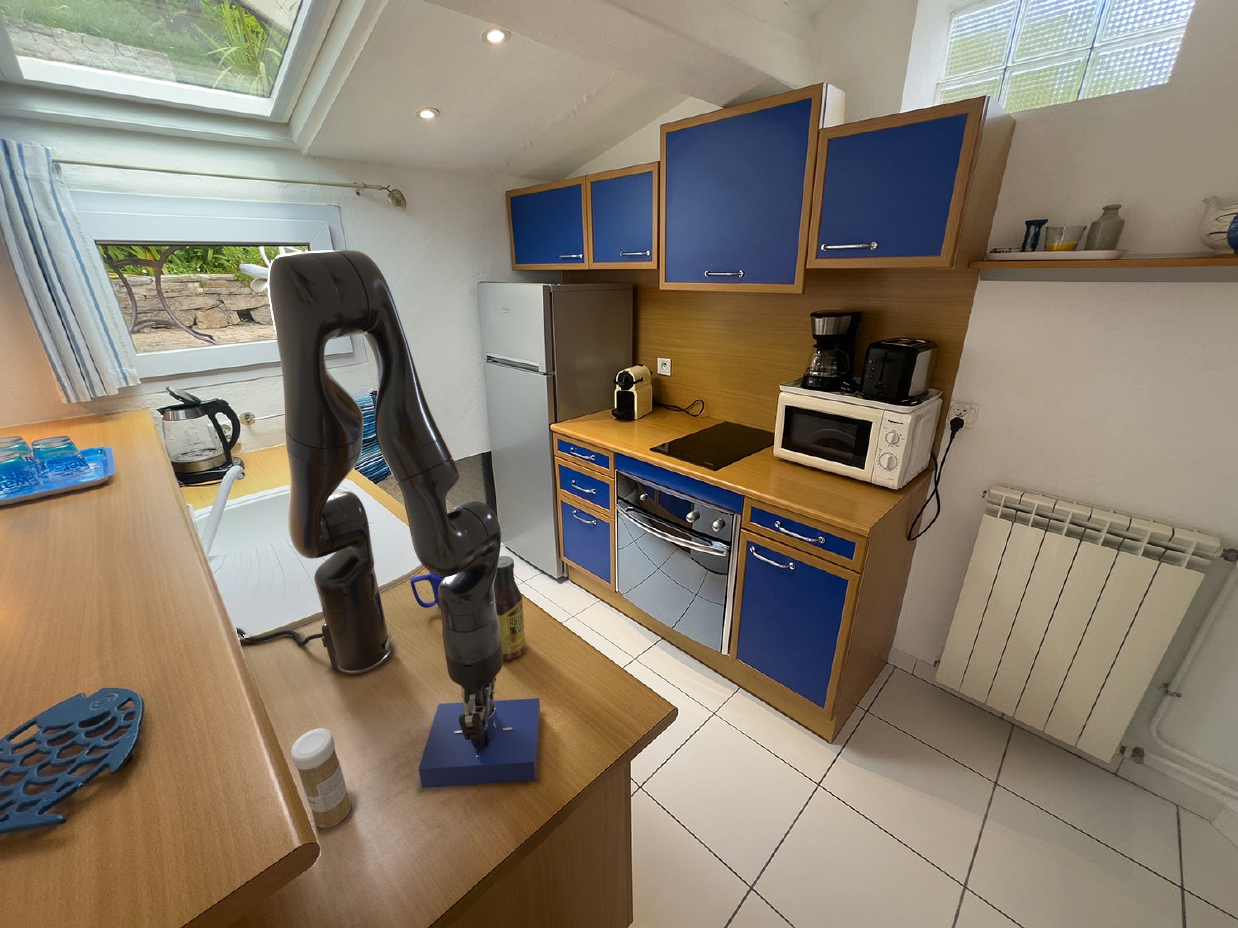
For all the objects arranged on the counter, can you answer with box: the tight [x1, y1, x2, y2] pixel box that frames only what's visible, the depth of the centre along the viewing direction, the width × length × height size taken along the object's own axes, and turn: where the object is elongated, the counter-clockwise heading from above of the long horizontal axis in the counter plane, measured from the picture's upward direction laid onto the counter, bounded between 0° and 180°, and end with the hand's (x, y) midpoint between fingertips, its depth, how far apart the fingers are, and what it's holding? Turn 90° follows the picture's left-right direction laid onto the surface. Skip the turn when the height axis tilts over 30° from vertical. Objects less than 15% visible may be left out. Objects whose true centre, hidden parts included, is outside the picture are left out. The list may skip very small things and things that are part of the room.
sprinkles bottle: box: [290, 727, 352, 829], centre depth 64 cm, size 5×5×14 cm
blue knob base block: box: [418, 697, 541, 789], centre depth 75 cm, size 16×11×4 cm
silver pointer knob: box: [470, 698, 498, 741], centre depth 73 cm, size 4×4×5 cm
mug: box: [409, 571, 445, 609], centre depth 104 cm, size 8×12×10 cm
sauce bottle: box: [494, 555, 526, 661], centre depth 91 cm, size 6×6×20 cm
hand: (484, 729), depth 74 cm, fingers closed on silver pointer knob, 4 cm apart
